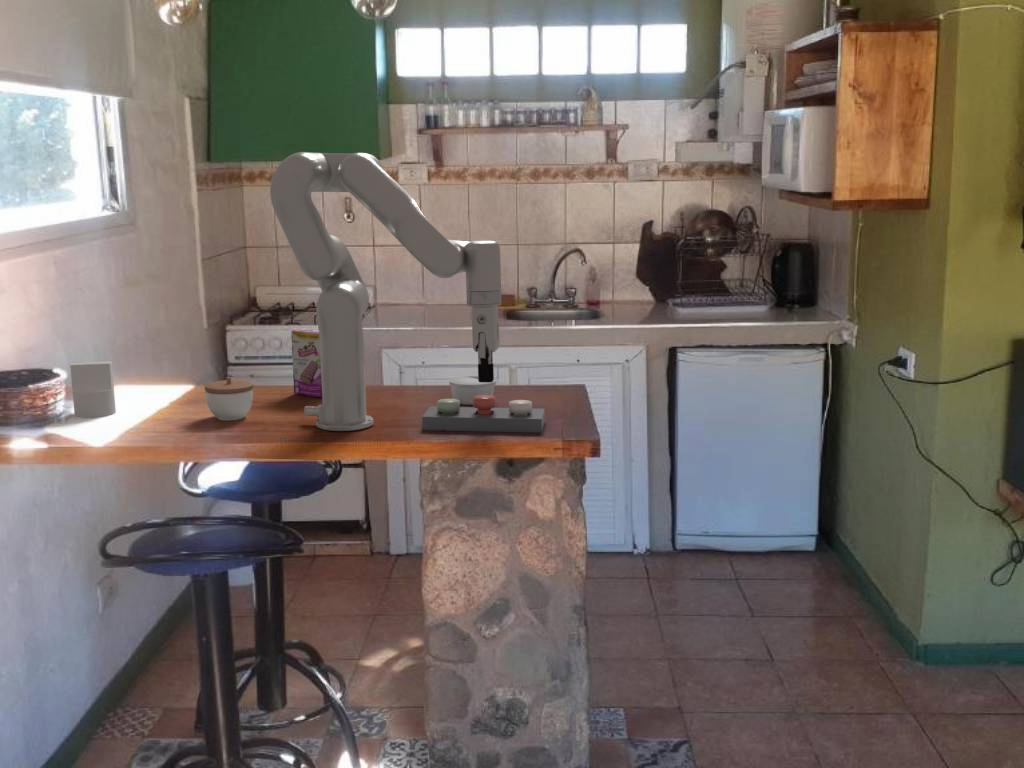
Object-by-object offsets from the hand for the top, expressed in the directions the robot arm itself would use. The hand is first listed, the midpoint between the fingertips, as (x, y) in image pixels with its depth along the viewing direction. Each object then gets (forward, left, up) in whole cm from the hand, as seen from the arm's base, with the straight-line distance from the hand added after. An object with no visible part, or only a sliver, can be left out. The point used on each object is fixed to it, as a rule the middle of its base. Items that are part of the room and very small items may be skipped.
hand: (486, 381), depth 235 cm
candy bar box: (-46, +28, -10) cm, 55 cm away
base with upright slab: (-92, +4, -10) cm, 93 cm away
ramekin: (-6, +25, -10) cm, 28 cm away
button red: (0, 0, -8) cm, 9 cm away
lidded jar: (-59, +3, -10) cm, 60 cm away
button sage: (-8, 0, -9) cm, 13 cm away
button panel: (0, 0, -10) cm, 10 cm away
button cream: (+8, 0, -10) cm, 12 cm away
